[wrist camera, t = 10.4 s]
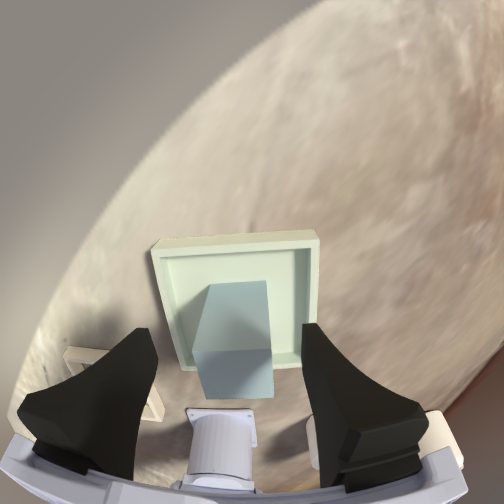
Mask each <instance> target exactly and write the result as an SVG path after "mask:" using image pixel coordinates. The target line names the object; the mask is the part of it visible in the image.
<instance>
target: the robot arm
mask: <svg viewBox="0 0 504 504" xmlns="http://www.w3.org/2000/svg"><path fill="white" fill-rule="evenodd" d="M158 360H159V359H158V356H157V353H156V350H155V347H154V344H153V341H152V339H151V335H150V332H149V329H148V328H136V329H135V330H134V331H132V332H131V333H130V334H129V335H128V336H127V337H125V338H124V339H123V340H122V341H121V342H120V343H118V344H117V345H116V346H115V347H114V348H113V349H112V350H110V351H109V352H108V353H107V354H105V355H104V356H103V357H102V358H100V359H99V360H98V361H96V362H95V363H94V364H92V365H91V366H90V367H88V368H87V369H85V370H83V371H82V372H80V373H79V374H77V375H75V376H73V377H71V378H69V379H67V380H66V381H64V382H62V383H59V384H57V385H55V386H52V387H50V388H47V389H44V390H41V391H37V392H34V393H30V394H27V396H26V397H25V399H24V400H23V402H22V404H21V405H20V407H19V409H18V410H17V414H18V417H19V419H20V420H21V421H22V423H23V424H24V425H25V426H26V427H27V429H28V430H29V431H30V432H31V433H32V434H33V435H34V436H35V437H36V438H37V440H36V442H35V443H34V442H33V441H31V440H30V439H28V438H26V437H24V436H22V435H20V434H18V433H15V435H14V437H13V438H12V440H11V442H10V444H9V446H8V448H7V450H6V452H5V454H4V456H3V458H2V460H1V462H0V469H1V470H2V471H4V472H5V473H6V474H7V475H8V476H10V477H11V478H12V479H13V480H15V481H16V482H17V483H19V484H20V485H22V486H23V487H24V488H25V489H27V490H28V491H30V492H31V493H33V494H35V495H36V496H38V497H40V498H42V499H44V500H46V501H47V502H49V503H51V504H451V503H452V502H454V501H455V500H457V499H458V498H459V497H461V496H463V495H464V494H465V493H467V491H468V488H467V485H466V483H465V480H464V477H463V475H462V472H461V470H460V468H459V465H458V463H457V460H456V458H455V456H454V454H453V451H452V449H451V447H450V446H447V447H444V448H442V449H440V450H437V451H435V452H432V453H430V454H427V455H425V456H424V457H422V458H421V459H420V458H419V455H418V453H419V452H420V448H419V445H418V442H419V441H420V440H421V438H422V437H423V435H424V434H425V433H426V431H427V429H428V427H429V420H428V418H427V416H426V414H425V412H424V410H423V409H422V407H421V406H420V404H419V403H418V402H416V401H413V400H410V399H408V398H405V397H403V396H400V395H398V394H396V393H394V392H392V391H390V390H388V389H387V388H385V387H383V386H381V385H380V384H378V383H377V382H375V381H373V380H372V379H370V378H369V377H368V376H366V375H365V374H364V373H362V372H361V371H360V370H359V369H357V368H356V367H355V366H354V365H353V364H352V363H351V362H350V361H349V360H348V359H346V358H345V357H344V356H343V355H342V353H341V352H340V351H339V350H338V349H337V348H336V347H335V346H334V345H333V344H332V342H331V341H330V340H329V339H328V338H327V336H326V335H325V334H324V333H323V331H322V330H321V328H320V327H319V326H318V324H316V323H305V324H302V340H301V363H302V371H303V377H304V381H305V385H306V389H307V393H308V396H309V400H310V404H311V408H312V412H313V417H314V423H315V431H316V439H317V448H318V459H319V471H320V487H321V489H314V490H306V491H297V492H285V493H268V494H264V493H263V492H262V491H261V490H260V489H259V488H254V481H251V467H252V447H257V437H256V429H255V421H254V413H253V410H250V409H241V410H216V409H187V415H188V417H189V420H190V422H191V424H192V427H193V429H194V434H193V439H192V445H191V451H190V457H189V463H188V469H187V475H186V474H184V475H183V481H179V480H177V481H176V482H175V483H173V484H172V485H171V486H170V488H166V487H160V486H154V485H149V484H144V483H139V482H135V481H133V472H134V458H135V448H136V442H137V435H138V430H139V425H140V420H141V416H142V413H143V410H144V407H145V404H146V401H147V398H148V396H149V393H150V390H151V387H152V384H153V382H154V379H155V375H156V371H157V366H158Z"/></svg>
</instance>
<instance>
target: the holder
mask: <svg viewBox="0 0 504 504" xmlns="http://www.w3.org/2000/svg"><path fill="white" fill-rule="evenodd" d="M109 351H110V350H100V349H91V348H82V347H74V346H69V347H68V348H67V350H66V351H65V352H64V354H63V355H62V358H63V360H64V361H65V363H66V365H67V367H68V369H69V370H70V372H71V374H72V376H75V375H77V374H79V373H80V372H82V371H83V370H85V369H84V367H83V365H82V363H84V364H91V365H92V364H94V363H95V362H96V361H98V360H99V359H100V358H102V357H103V356H104V355H105V354H107V353H108V352H109ZM147 402H148V404H149V405H145V407H144V410H143V413H142V416H141V419H143V420H150V421H159V422H162V420H163V417H164V413H165V408H164V406H163V404H162V402H161V399H160V397H159V395H158V393H157V391H156V388H155V386H154V384H152V387H151V390H150V393H149V396H148V398H147Z"/></svg>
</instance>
